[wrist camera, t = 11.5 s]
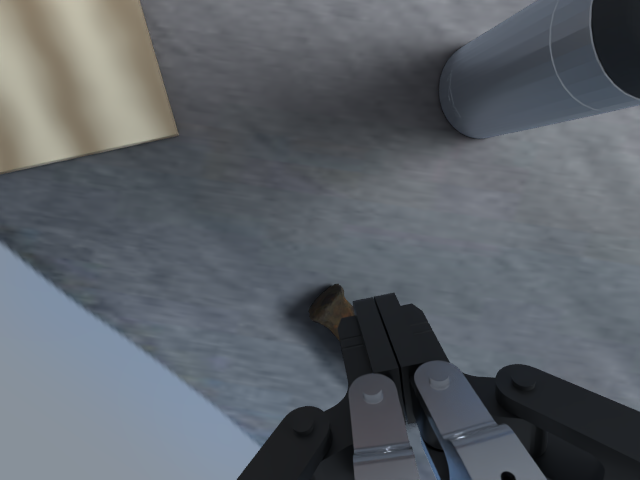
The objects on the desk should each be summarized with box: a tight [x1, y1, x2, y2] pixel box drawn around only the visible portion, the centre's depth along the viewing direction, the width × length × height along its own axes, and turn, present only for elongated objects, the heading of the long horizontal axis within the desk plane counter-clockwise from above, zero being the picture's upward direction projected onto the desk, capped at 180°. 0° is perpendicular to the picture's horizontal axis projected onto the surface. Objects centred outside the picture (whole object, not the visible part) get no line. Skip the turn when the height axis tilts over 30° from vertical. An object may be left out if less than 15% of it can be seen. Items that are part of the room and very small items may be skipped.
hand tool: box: [309, 284, 355, 341], centre depth 40 cm, size 19×4×5 cm, turn 40°
